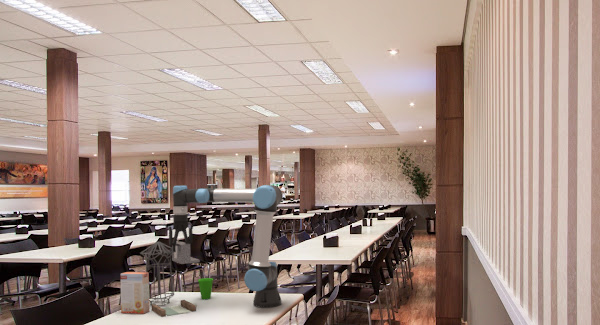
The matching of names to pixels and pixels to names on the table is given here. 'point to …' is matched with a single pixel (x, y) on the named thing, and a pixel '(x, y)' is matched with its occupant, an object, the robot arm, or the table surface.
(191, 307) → the bay walls
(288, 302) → the table surface
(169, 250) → the geometric lantern
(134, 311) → the cracker box
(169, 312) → the pad
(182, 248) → the angle bracket
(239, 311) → the table surface
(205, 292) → the cup
